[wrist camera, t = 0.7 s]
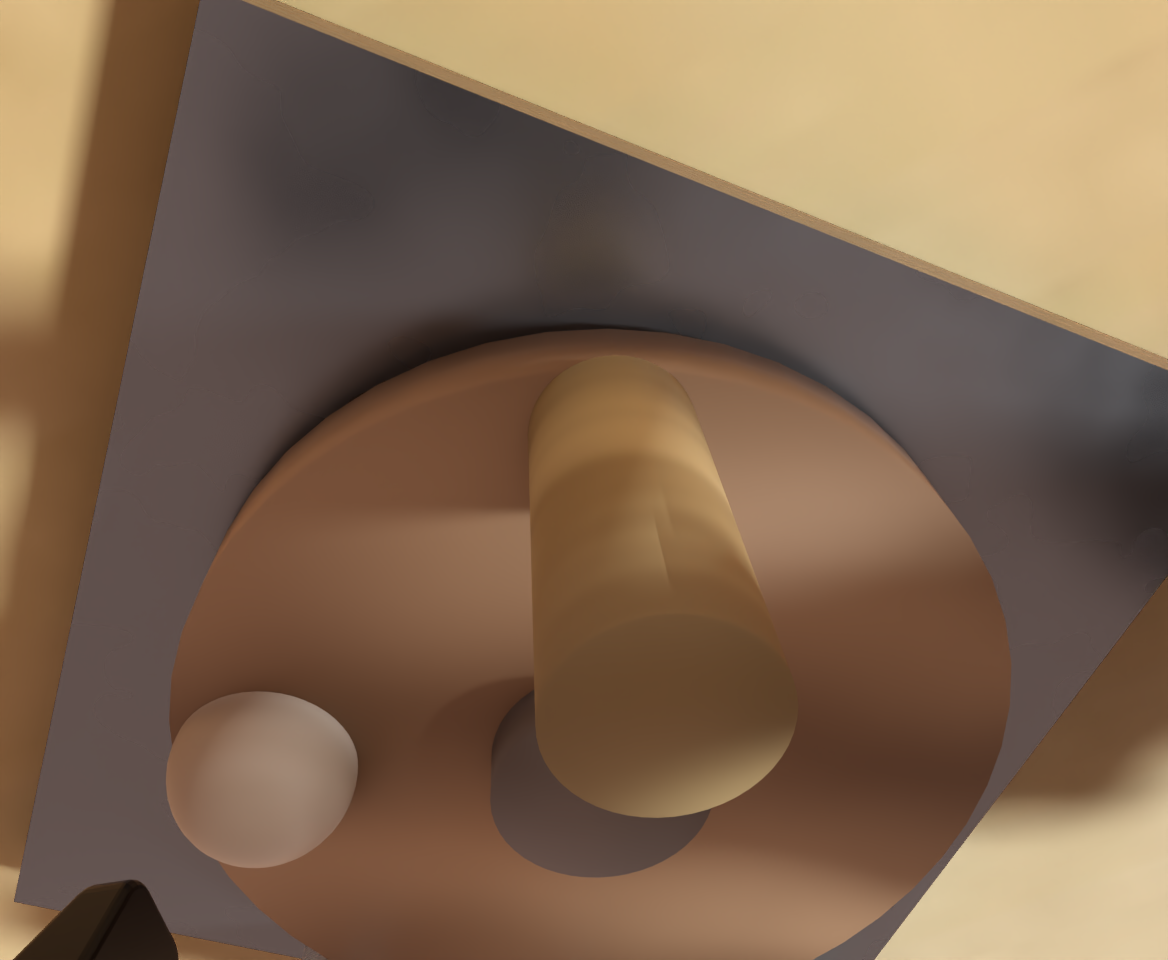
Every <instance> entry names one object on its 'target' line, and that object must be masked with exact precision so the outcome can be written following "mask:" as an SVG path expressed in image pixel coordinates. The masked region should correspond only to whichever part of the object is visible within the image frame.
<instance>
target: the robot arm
mask: <svg viewBox="0 0 1168 960" xmlns="http://www.w3.org/2000/svg"><path fill="white" fill-rule="evenodd" d="M13 960H178V952H177V948H176V944H175V942H174V939H173V937H172V935H171V933H170V931H169V929H168V927H167V925H166V923H165V922H164V920H163V918H162V916H161V914H160V912H159V910H158V908H157V906H156V904H155V902H154V900H153V898H152V896H151V894H150V892H149V890H148V889H147V887H146V886H145V885H144V884H143V883H142V882H140V881H138V880H133V879H130V880H123V881H116V882H109V883H103V884H96V885H92V886H90V887H87V888H86V889H84V890H83V891H82V892H80V893H79V894H78V895H77V896H76V897H75V898H74V899H73V900H72V901H71V902H70V903H69V904H68V905H67V906H66V907H65V908H64V909H63V910H62V911H61V912H60V913H59V914H58V915H57V916H56V917H55V918H54V919H53V920H52V921H51V922H50V923H49V924H48V925H47V926H46V927H45V928H44V929H43V930H42V931H41V932H40V933H39V934H38V935H37V936H36V937H35V938H34V939H33V940H32V941H31V942H30V943H29V944H28V945H27V946H26V947H25V948H24V949H23V950H22V951H21V952H20V953H19V954H18V955H17V956H16V957H15V958H14V959H13Z"/></svg>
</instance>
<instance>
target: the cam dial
mask: <svg viewBox="0 0 1168 960" xmlns="http://www.w3.org/2000/svg"><path fill="white" fill-rule="evenodd" d="M1010 687H1011V657H1010V650H1009V643H1008V635H1007V628H1006V621H1005V618H1004V615H1003V611H1002V608H1001V605H1000V602H999V599H998V596H997V593H996V590H995V587H994V583H993V580H992V578H991V576H990V574H989V572H988V570H987V568H986V566H985V564H984V562H983V561H982V559H981V557H980V555H979V553H978V551H977V549H976V547H975V545H974V543H973V542H972V540H971V538H970V536H969V535H968V533H967V532H966V531H965V529H964V528H963V527H962V525H961V524H960V523H959V521H958V520H957V519H956V517H955V516H954V514H953V513H952V512H951V510H950V509H949V508H948V506H947V505H946V504H945V502H944V501H943V500H942V498H941V497H940V495H939V494H938V493H937V491H936V490H935V489H934V487H933V486H932V485H931V483H930V482H929V481H928V479H927V478H926V477H925V476H924V474H923V473H922V472H921V470H920V469H919V468H918V466H917V465H916V464H915V463H914V461H913V460H912V459H911V457H910V456H909V455H908V453H907V452H906V451H905V450H904V449H903V448H902V447H901V446H900V445H899V444H898V443H897V442H896V441H895V440H894V439H893V438H892V437H891V436H890V435H889V434H888V433H886V432H885V431H884V430H883V429H882V428H881V427H880V426H879V425H878V424H877V423H876V422H875V421H874V420H873V419H872V418H871V417H870V416H868V415H867V414H865V413H864V412H863V411H861V410H860V409H858V408H857V407H855V406H854V405H852V404H851V403H850V402H848V401H847V400H845V399H844V398H842V397H841V396H840V395H838V394H837V393H835V392H834V391H832V390H831V389H829V388H828V387H827V386H825V385H823V384H821V383H819V382H817V381H815V380H813V379H811V378H809V377H807V376H804V375H803V374H800V373H798V372H796V371H794V370H792V369H790V368H788V367H786V366H784V365H782V364H780V363H778V362H776V361H773V360H770V359H767V358H764V357H761V356H758V355H755V354H752V353H749V352H746V351H743V350H740V349H737V348H734V347H731V346H729V345H726V344H721V343H716V342H711V341H706V340H701V339H696V338H691V337H686V336H681V335H676V334H671V333H664V332H649V331H635V330H620V329H590V330H573V331H555V332H543V333H538V334H532V335H527V336H521V337H516V338H510V339H505V340H500V341H494V342H489V343H484V344H481V345H478V346H475V347H472V348H469V349H465V350H462V351H459V352H456V353H453V354H450V355H446V356H443V357H440V358H437V359H434V360H431V361H428V362H426V363H424V364H421V365H419V366H417V367H415V368H413V369H411V370H409V371H406V372H404V373H402V374H400V375H398V376H396V377H393V378H391V379H389V380H387V381H385V382H383V383H380V384H378V385H376V386H375V387H373V388H371V389H370V390H368V391H367V392H365V393H364V394H362V395H360V396H359V397H357V398H356V399H354V400H353V401H351V402H349V403H348V404H346V405H345V406H343V407H342V408H340V409H338V410H337V411H335V412H334V413H332V414H331V415H329V416H328V417H326V418H325V419H324V420H323V421H322V422H321V423H319V424H318V425H317V426H316V427H315V428H314V429H312V430H311V431H310V432H309V433H308V434H307V435H305V436H304V437H303V438H302V439H301V440H299V441H298V442H297V443H296V444H295V445H294V446H292V447H291V448H290V449H289V450H288V451H287V452H286V453H285V454H284V455H283V456H282V457H281V459H280V460H279V461H278V462H277V463H276V464H275V465H274V467H273V468H272V469H271V470H270V471H269V472H268V473H267V475H266V476H265V477H264V478H263V479H262V480H261V481H260V483H259V484H258V485H257V486H256V487H255V488H254V489H253V491H252V493H251V494H250V496H249V497H248V499H247V500H246V502H245V504H244V505H243V507H242V508H241V510H240V512H239V513H238V515H237V516H236V518H235V519H234V521H233V523H232V524H231V526H230V527H229V529H228V530H227V532H226V535H225V537H224V539H223V541H222V543H221V545H220V547H219V550H218V552H217V554H216V556H215V558H214V560H213V562H212V564H211V567H210V569H209V571H208V573H207V575H206V577H205V579H204V581H203V584H202V586H201V588H200V590H199V593H198V595H197V597H196V600H195V602H194V604H193V607H192V609H191V611H190V614H189V616H188V618H187V621H186V623H185V626H184V628H183V630H182V634H181V638H180V642H179V646H178V651H177V655H176V659H175V663H174V668H173V672H172V676H171V694H170V712H169V725H170V733H171V741H172V748H171V751H170V755H169V759H168V763H167V771H166V790H167V798H168V802H169V805H170V809H171V812H172V815H173V817H174V819H175V821H176V823H177V825H178V826H179V828H180V830H181V831H182V833H183V834H184V835H185V836H186V838H187V839H188V840H189V841H190V842H191V843H192V844H193V845H194V846H195V847H196V848H198V849H199V850H200V851H201V852H203V853H204V854H206V855H207V856H209V857H211V858H213V859H215V860H218V862H219V863H220V865H221V866H222V868H223V869H224V870H225V872H226V873H227V875H228V876H229V877H230V879H231V880H232V881H233V882H234V883H235V884H236V885H237V886H238V887H239V888H240V889H241V890H242V891H243V893H244V894H245V895H246V896H247V897H248V898H249V899H250V900H251V901H252V902H253V903H254V904H255V905H256V907H257V908H258V909H260V910H261V911H262V912H263V913H264V914H266V915H267V916H268V917H269V918H270V919H272V920H273V921H274V922H275V923H276V924H278V925H279V926H280V927H281V928H282V929H284V930H285V931H286V932H287V933H288V934H290V935H291V936H292V937H294V938H295V939H297V940H299V941H300V942H302V943H303V944H305V945H306V946H308V947H309V948H311V949H312V950H314V951H315V952H317V953H319V954H320V955H322V956H323V957H325V958H326V959H328V960H813V959H815V958H817V957H818V956H820V955H822V954H824V953H826V952H827V951H829V950H831V949H833V948H835V947H836V946H838V945H840V944H842V943H844V942H845V941H846V940H848V939H849V938H851V937H852V936H854V935H855V934H857V933H858V932H859V931H861V930H862V929H864V928H865V927H867V926H868V925H869V924H871V923H872V922H874V921H875V920H877V919H878V918H880V917H881V916H882V915H883V914H884V913H885V912H887V911H888V910H889V909H890V908H891V907H892V906H894V905H895V904H896V903H897V902H898V901H899V900H901V899H902V898H903V897H904V896H905V895H906V894H907V893H909V892H910V891H911V890H912V889H913V888H914V887H915V886H916V885H917V884H918V883H919V882H920V881H921V880H922V879H923V877H924V876H925V875H926V874H927V873H928V872H929V871H930V870H931V869H932V868H933V867H934V866H935V865H936V863H937V862H938V861H939V860H940V859H941V858H942V857H943V855H944V854H945V853H946V851H947V850H948V849H949V847H950V846H951V844H952V843H953V842H954V840H955V839H956V838H957V836H958V835H959V833H960V832H961V831H962V829H963V828H964V827H965V825H966V824H967V822H968V820H969V819H970V817H971V815H972V813H973V811H974V809H975V807H976V806H977V804H978V802H979V800H980V798H981V796H982V794H983V793H984V791H985V789H986V787H987V785H988V782H989V779H990V777H991V774H992V771H993V769H994V766H995V763H996V760H997V758H998V755H999V752H1000V750H1001V747H1002V742H1003V737H1004V732H1005V727H1006V722H1007V717H1008V712H1009V707H1010Z"/></svg>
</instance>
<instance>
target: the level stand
mask: <svg viewBox="0 0 1168 960" xmlns="http://www.w3.org/2000/svg"><path fill="white" fill-rule="evenodd" d="M590 329H620V330H635V331H649V332H664V333H671V334H676V335H681V336H686V337H691V338H696V339H701V340H706V341H711V342H716V343H721V344H726V345H729V346H731V347H734V348H737V349H740V350H743V351H746V352H749V353H752V354H755V355H758V356H761V357H764V358H767V359H770V360H773V361H776V362H778V363H780V364H782V365H784V366H786V367H788V368H790V369H792V370H794V371H796V372H798V373H800V374H803V375H804V376H807V377H809V378H811V379H813V380H815V381H817V382H819V383H821V384H823V385H825V386H827V387H828V388H829V389H831V390H832V391H834V392H835V393H837V394H838V395H840V396H841V397H842V398H844V399H845V400H847V401H848V402H850V403H851V404H852V405H854V406H855V407H857V408H858V409H860V410H861V411H863V412H864V413H865V414H867V415H868V416H870V417H871V418H872V419H873V420H874V421H875V422H876V423H877V424H878V425H879V426H880V427H881V428H882V429H883V430H884V431H885V432H886V433H888V434H889V435H890V436H891V437H892V438H893V439H894V440H895V441H896V442H897V443H898V444H899V445H900V446H901V447H902V448H903V449H904V450H905V451H906V452H907V453H908V455H909V456H910V457H911V459H912V460H913V461H914V463H915V464H916V465H917V466H918V468H919V469H920V470H921V472H922V473H923V474H924V476H925V477H926V478H927V479H928V481H929V482H930V483H931V485H932V486H933V487H934V489H935V490H936V491H937V493H938V494H939V495H940V497H941V498H942V500H943V501H944V502H945V504H946V505H947V506H948V508H949V509H950V510H951V512H952V513H953V514H954V516H955V517H956V519H957V520H958V521H959V523H960V524H961V525H962V527H963V528H964V529H965V531H966V532H967V533H968V535H969V536H970V538H971V540H972V542H973V543H974V545H975V547H976V549H977V551H978V553H979V555H980V557H981V559H982V561H983V562H984V564H985V566H986V568H987V570H988V572H989V574H990V576H991V578H992V580H993V583H994V587H995V590H996V593H997V596H998V599H999V602H1000V605H1001V608H1002V611H1003V615H1004V618H1005V621H1006V628H1007V635H1008V643H1009V650H1010V657H1011V687H1010V707H1009V712H1008V717H1007V722H1006V727H1005V732H1004V737H1003V742H1002V747H1001V750H1000V752H999V755H998V758H997V760H996V763H995V766H994V769H993V771H992V774H991V777H990V779H989V782H988V785H987V787H986V789H985V791H984V793H983V794H982V796H981V798H980V800H979V802H978V804H977V806H976V807H975V809H974V811H973V813H972V815H971V817H970V819H969V820H968V822H967V824H966V825H965V827H964V828H963V829H962V831H961V832H960V833H959V835H958V836H957V838H956V839H955V840H954V842H953V843H952V844H951V846H950V847H949V849H948V850H947V851H946V853H945V854H944V855H943V857H942V858H941V859H940V860H939V861H938V862H937V863H936V865H935V866H934V867H933V868H932V869H931V870H930V871H929V872H928V873H927V874H926V875H925V876H924V877H923V879H922V880H921V881H920V882H919V883H918V884H917V885H916V886H915V887H914V888H913V889H912V890H911V891H910V892H909V893H907V894H906V895H905V896H904V897H903V898H902V899H901V900H899V901H898V902H897V903H896V904H895V905H894V906H892V907H891V908H890V909H889V910H888V911H887V912H885V913H884V914H883V915H882V916H881V917H880V918H878V919H877V920H875V921H874V922H872V923H871V924H869V925H868V926H867V927H865V928H864V929H862V930H861V931H859V932H858V933H857V934H855V935H854V936H852V937H851V938H849V939H848V940H846V941H845V942H844V943H842V944H840V945H838V946H836V947H835V948H833V949H831V950H829V951H827V952H826V953H824V954H822V955H820V956H818V957H817V958H815V959H813V960H874V959H875V958H876V957H877V955H878V954H879V953H880V951H881V950H882V949H883V948H884V946H885V945H886V944H887V942H888V941H889V940H890V938H891V937H892V936H893V934H894V933H895V932H896V930H897V929H898V928H899V927H900V925H901V924H902V923H903V921H904V920H905V919H906V917H907V916H908V915H909V913H910V912H911V911H912V910H913V908H914V907H915V906H916V904H917V903H918V902H919V900H920V899H921V898H922V896H923V895H924V894H925V893H926V891H927V890H928V889H929V887H930V886H931V885H932V883H933V882H934V881H935V879H936V878H937V877H938V875H939V874H940V873H941V872H942V870H943V869H944V868H945V866H946V865H947V864H948V862H949V861H950V860H951V858H952V857H953V856H954V855H955V853H956V852H957V851H958V849H959V848H960V847H961V845H962V844H963V843H964V841H965V840H966V839H967V837H968V836H969V835H970V834H971V832H972V831H973V830H974V828H975V827H976V826H977V824H978V823H979V822H980V820H981V819H982V818H983V817H984V815H985V814H986V813H987V811H988V810H989V809H990V807H991V806H992V805H993V803H994V802H995V801H996V800H997V798H998V797H999V796H1000V794H1001V793H1002V792H1003V790H1004V789H1005V788H1006V786H1007V785H1008V784H1009V782H1010V781H1011V780H1012V779H1013V777H1014V776H1015V775H1016V773H1017V772H1018V771H1019V769H1020V768H1021V767H1022V765H1023V764H1024V763H1025V762H1026V760H1027V759H1028V758H1029V756H1030V755H1031V754H1032V752H1033V751H1034V750H1035V748H1036V747H1037V746H1038V745H1039V743H1040V742H1041V741H1042V739H1043V738H1044V737H1045V735H1046V734H1047V733H1048V731H1049V730H1050V729H1051V727H1052V726H1053V725H1054V724H1055V722H1056V721H1057V720H1058V718H1059V717H1060V716H1061V714H1062V713H1063V712H1064V710H1065V709H1066V708H1067V707H1068V705H1069V704H1070V703H1071V701H1072V700H1073V699H1074V697H1075V696H1076V695H1077V693H1078V692H1079V691H1080V690H1081V688H1082V687H1083V686H1084V684H1085V683H1086V682H1087V680H1088V679H1089V678H1090V676H1091V675H1092V674H1093V672H1094V671H1095V670H1096V669H1097V667H1098V666H1099V665H1100V663H1101V662H1102V661H1103V659H1104V658H1105V657H1106V655H1107V654H1108V653H1109V652H1110V650H1111V649H1112V648H1113V646H1114V645H1115V644H1116V642H1117V641H1118V640H1119V638H1120V637H1121V636H1122V635H1123V633H1124V632H1125V631H1126V629H1127V628H1128V627H1129V625H1130V624H1131V623H1132V621H1133V620H1134V619H1135V617H1136V616H1137V615H1138V614H1139V612H1140V611H1141V610H1142V608H1143V607H1144V606H1145V604H1146V603H1147V602H1148V600H1149V599H1150V598H1151V597H1152V595H1153V594H1154V593H1155V591H1156V590H1157V589H1158V587H1159V586H1160V585H1161V583H1162V582H1163V581H1164V580H1165V578H1166V577H1167V576H1168V359H1166V358H1164V357H1161V356H1159V355H1156V354H1154V353H1151V352H1149V351H1146V350H1144V349H1141V348H1139V347H1136V346H1134V345H1131V344H1129V343H1126V342H1124V341H1121V340H1119V339H1117V338H1114V337H1112V336H1109V335H1107V334H1104V333H1102V332H1099V331H1097V330H1094V329H1092V328H1089V327H1087V326H1084V325H1082V324H1079V323H1077V322H1074V321H1072V320H1069V319H1067V318H1064V317H1062V316H1059V315H1057V314H1054V313H1052V312H1049V311H1047V310H1044V309H1042V308H1039V307H1037V306H1035V305H1032V304H1030V303H1027V302H1025V301H1022V300H1020V299H1017V298H1015V297H1012V296H1010V295H1007V294H1005V293H1002V292H1000V291H997V290H995V289H992V288H990V287H987V286H985V285H982V284H980V283H977V282H975V281H972V280H970V279H967V278H965V277H962V276H960V275H957V274H955V273H953V272H950V271H948V270H945V269H943V268H940V267H938V266H935V265H933V264H930V263H928V262H925V261H923V260H920V259H918V258H915V257H913V256H910V255H908V254H905V253H903V252H900V251H898V250H895V249H893V248H890V247H888V246H885V245H883V244H880V243H878V242H875V241H873V240H870V239H868V238H866V237H863V236H861V235H858V234H856V233H853V232H851V231H848V230H846V229H843V228H841V227H838V226H836V225H833V224H831V223H828V222H826V221H823V220H821V219H818V218H816V217H813V216H811V215H808V214H806V213H803V212H801V211H798V210H796V209H793V208H791V207H788V206H786V205H784V204H781V203H779V202H776V201H774V200H771V199H769V198H766V197H764V196H761V195H759V194H756V193H754V192H751V191H749V190H746V189H744V188H741V187H739V186H736V185H734V184H731V183H729V182H726V181H724V180H721V179H719V178H716V177H714V176H711V175H709V174H706V173H704V172H702V171H699V170H697V169H694V168H692V167H689V166H687V165H684V164H682V163H679V162H677V161H674V160H672V159H669V158H667V157H664V156H662V155H659V154H657V153H654V152H652V151H649V150H647V149H644V148H642V147H639V146H637V145H634V144H632V143H629V142H627V141H624V140H622V139H620V138H617V137H615V136H612V135H610V134H607V133H605V132H602V131H600V130H597V129H595V128H592V127H590V126H587V125H585V124H582V123H580V122H577V121H575V120H572V119H570V118H567V117H565V116H562V115H560V114H557V113H555V112H552V111H550V110H547V109H545V108H542V107H540V106H538V105H535V104H533V103H530V102H528V101H525V100H523V99H520V98H518V97H515V96H513V95H510V94H508V93H505V92H503V91H500V90H498V89H495V88H493V87H490V86H488V85H485V84H483V83H480V82H478V81H475V80H473V79H470V78H468V77H465V76H463V75H460V74H458V73H456V72H453V71H451V70H448V69H446V68H443V67H441V66H438V65H436V64H433V63H431V62H428V61H426V60H423V59H421V58H418V57H416V56H413V55H411V54H408V53H406V52H403V51H401V50H398V49H396V48H393V47H391V46H388V45H386V44H383V43H381V42H378V41H376V40H374V39H371V38H369V37H366V36H364V35H361V34H359V33H356V32H354V31H351V30H349V29H346V28H344V27H341V26H339V25H336V24H334V23H331V22H329V21H326V20H324V19H321V18H319V17H316V16H314V15H311V14H309V13H306V12H304V11H301V10H299V9H296V8H294V7H291V6H289V5H287V4H284V3H282V2H279V1H277V0H200V2H199V7H198V12H197V17H196V22H195V27H194V32H193V36H192V41H191V46H190V51H189V56H188V61H187V65H186V70H185V75H184V80H183V85H182V90H181V95H180V99H179V104H178V109H177V114H176V119H175V124H174V128H173V133H172V138H171V143H170V148H169V153H168V158H167V162H166V167H165V172H164V177H163V182H162V187H161V191H160V196H159V201H158V206H157V211H156V216H155V221H154V225H153V230H152V235H151V240H150V245H149V250H148V254H147V259H146V264H145V269H144V274H143V279H142V284H141V288H140V293H139V298H138V303H137V308H136V313H135V317H134V322H133V327H132V332H131V337H130V342H129V347H128V351H127V356H126V361H125V366H124V371H123V376H122V380H121V385H120V390H119V395H118V400H117V405H116V410H115V414H114V419H113V424H112V429H111V434H110V439H109V443H108V448H107V453H106V458H105V463H104V468H103V473H102V477H101V482H100V487H99V492H98V497H97V502H96V506H95V511H94V516H93V521H92V526H91V531H90V535H89V540H88V545H87V550H86V555H85V560H84V565H83V569H82V574H81V579H80V584H79V589H78V594H77V598H76V603H75V608H74V613H73V618H72V623H71V628H70V632H69V637H68V642H67V647H66V652H65V657H64V661H63V666H62V671H61V676H60V681H59V686H58V691H57V695H56V700H55V705H54V710H53V715H52V720H51V724H50V729H49V734H48V739H47V744H46V749H45V754H44V758H43V763H42V768H41V773H40V778H39V783H38V787H37V792H36V797H35V802H34V807H33V812H32V817H31V821H30V826H29V831H28V836H27V841H26V846H25V850H24V855H23V860H22V865H21V870H20V875H19V880H18V884H17V889H16V894H15V899H14V902H18V903H23V904H28V905H33V906H38V907H43V908H48V909H54V910H59V911H62V910H63V909H64V908H65V907H66V906H67V905H68V904H69V903H70V902H71V901H72V900H73V899H74V898H75V897H76V896H77V895H78V894H79V893H80V892H82V891H83V890H84V889H86V888H87V887H90V886H92V885H96V884H103V883H109V882H116V881H123V880H130V879H133V880H138V881H140V882H142V883H143V884H144V885H145V886H146V887H147V889H148V890H149V892H150V894H151V896H152V898H153V900H154V902H155V904H156V906H157V908H158V910H159V912H160V914H161V916H162V918H163V920H164V922H165V923H166V925H167V927H168V929H169V931H170V933H175V934H180V935H185V936H190V937H195V938H200V939H205V940H210V941H215V942H220V943H225V944H230V945H235V946H240V947H245V948H250V949H256V950H261V951H266V952H271V953H276V954H281V955H286V956H291V957H296V958H301V959H302V960H328V959H326V958H325V957H323V956H322V955H320V954H319V953H317V952H315V951H314V950H312V949H311V948H309V947H308V946H306V945H305V944H303V943H302V942H300V941H299V940H297V939H295V938H294V937H292V936H291V935H290V934H288V933H287V932H286V931H285V930H284V929H282V928H281V927H280V926H279V925H278V924H276V923H275V922H274V921H273V920H272V919H270V918H269V917H268V916H267V915H266V914H264V913H263V912H262V911H261V910H260V909H258V908H257V907H256V905H255V904H254V903H253V902H252V901H251V900H250V899H249V898H248V897H247V896H246V895H245V894H244V893H243V891H242V890H241V889H240V888H239V887H238V886H237V885H236V884H235V883H234V882H233V881H232V880H231V879H230V877H229V876H228V875H227V873H226V872H225V870H224V869H223V868H222V866H221V865H220V863H219V862H218V860H215V859H213V858H211V857H209V856H207V855H206V854H204V853H203V852H201V851H200V850H199V849H198V848H196V847H195V846H194V845H193V844H192V843H191V842H190V841H189V840H188V839H187V838H186V836H185V835H184V834H183V833H182V831H181V830H180V828H179V826H178V825H177V823H176V821H175V819H174V817H173V815H172V812H171V809H170V805H169V802H168V798H167V790H166V771H167V763H168V759H169V755H170V751H171V748H172V741H171V733H170V725H169V712H170V694H171V676H172V672H173V668H174V663H175V659H176V655H177V651H178V646H179V642H180V638H181V634H182V630H183V628H184V626H185V623H186V621H187V618H188V616H189V614H190V611H191V609H192V607H193V604H194V602H195V600H196V597H197V595H198V593H199V590H200V588H201V586H202V584H203V581H204V579H205V577H206V575H207V573H208V571H209V569H210V567H211V564H212V562H213V560H214V558H215V556H216V554H217V552H218V550H219V547H220V545H221V543H222V541H223V539H224V537H225V535H226V532H227V530H228V529H229V527H230V526H231V524H232V523H233V521H234V519H235V518H236V516H237V515H238V513H239V512H240V510H241V508H242V507H243V505H244V504H245V502H246V500H247V499H248V497H249V496H250V494H251V493H252V491H253V489H254V488H255V487H256V486H257V485H258V484H259V483H260V481H261V480H262V479H263V478H264V477H265V476H266V475H267V473H268V472H269V471H270V470H271V469H272V468H273V467H274V465H275V464H276V463H277V462H278V461H279V460H280V459H281V457H282V456H283V455H284V454H285V453H286V452H287V451H288V450H289V449H290V448H291V447H292V446H294V445H295V444H296V443H297V442H298V441H299V440H301V439H302V438H303V437H304V436H305V435H307V434H308V433H309V432H310V431H311V430H312V429H314V428H315V427H316V426H317V425H318V424H319V423H321V422H322V421H323V420H324V419H325V418H326V417H328V416H329V415H331V414H332V413H334V412H335V411H337V410H338V409H340V408H342V407H343V406H345V405H346V404H348V403H349V402H351V401H353V400H354V399H356V398H357V397H359V396H360V395H362V394H364V393H365V392H367V391H368V390H370V389H371V388H373V387H375V386H376V385H378V384H380V383H383V382H385V381H387V380H389V379H391V378H393V377H396V376H398V375H400V374H402V373H404V372H406V371H409V370H411V369H413V368H415V367H417V366H419V365H421V364H424V363H426V362H428V361H431V360H434V359H437V358H440V357H443V356H446V355H450V354H453V353H456V352H459V351H462V350H465V349H469V348H472V347H475V346H478V345H481V344H484V343H489V342H494V341H500V340H505V339H510V338H516V337H521V336H527V335H532V334H538V333H543V332H555V331H573V330H590Z"/></svg>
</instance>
